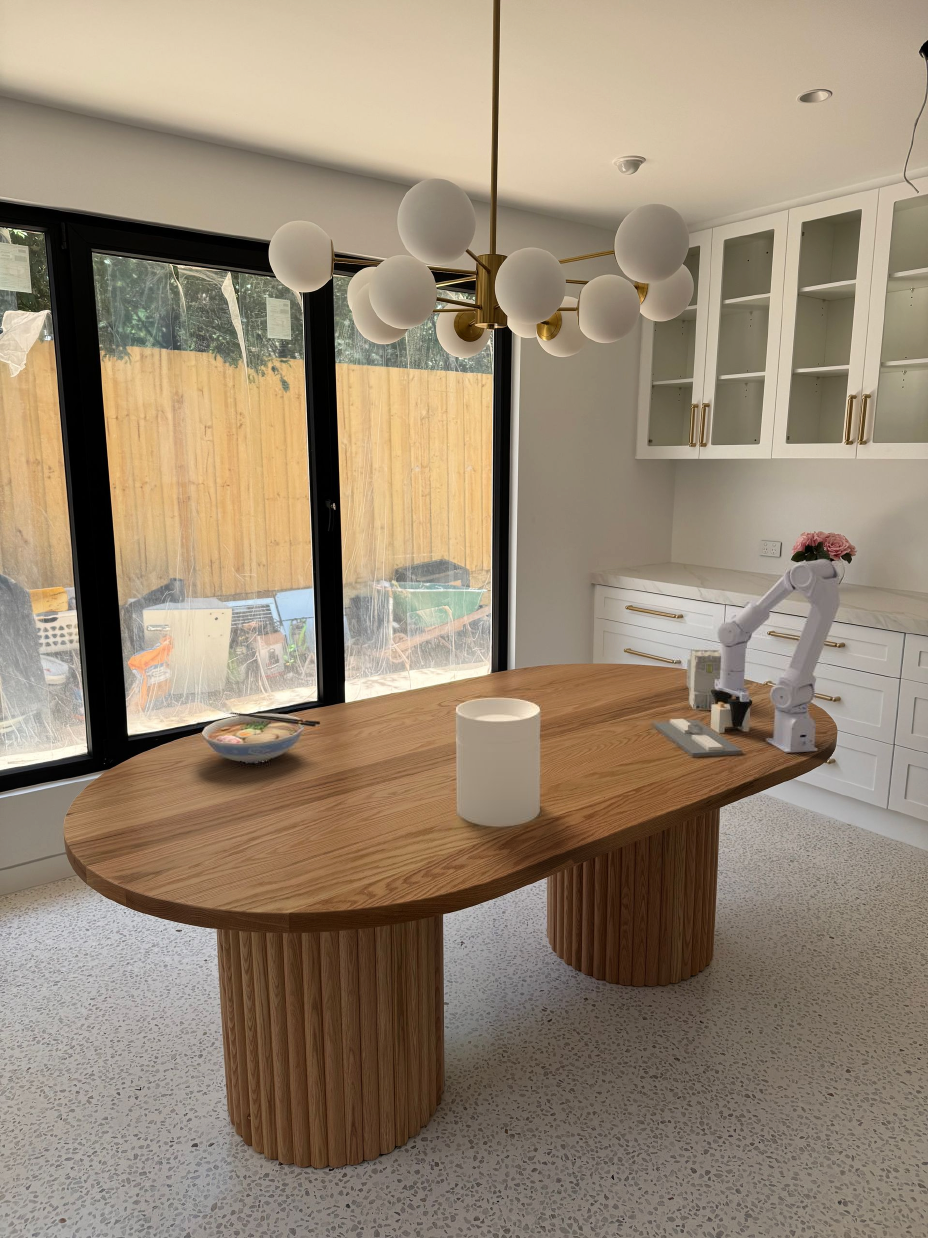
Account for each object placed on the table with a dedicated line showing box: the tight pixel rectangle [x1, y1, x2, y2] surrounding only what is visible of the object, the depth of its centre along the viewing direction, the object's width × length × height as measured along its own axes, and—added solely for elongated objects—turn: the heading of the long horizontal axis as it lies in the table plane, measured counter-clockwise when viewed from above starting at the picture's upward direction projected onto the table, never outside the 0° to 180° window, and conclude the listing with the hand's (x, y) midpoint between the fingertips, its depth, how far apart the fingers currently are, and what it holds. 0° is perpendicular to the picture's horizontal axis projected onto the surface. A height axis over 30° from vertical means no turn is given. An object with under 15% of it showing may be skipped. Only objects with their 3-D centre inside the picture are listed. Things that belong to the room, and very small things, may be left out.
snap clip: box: [688, 724, 703, 733], centre depth 198 cm, size 3×2×1 cm
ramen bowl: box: [201, 711, 321, 764], centre depth 187 cm, size 25×23×8 cm
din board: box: [651, 718, 743, 758], centre depth 198 cm, size 24×12×2 cm, turn 9°
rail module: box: [710, 702, 751, 734], centre depth 206 cm, size 4×8×7 cm, turn 99°
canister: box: [455, 697, 541, 828], centre depth 156 cm, size 16×16×20 cm
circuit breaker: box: [686, 649, 721, 711], centre depth 229 cm, size 8×14×15 cm, turn 174°
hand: (729, 722), depth 206 cm, fingers open, 7 cm apart
